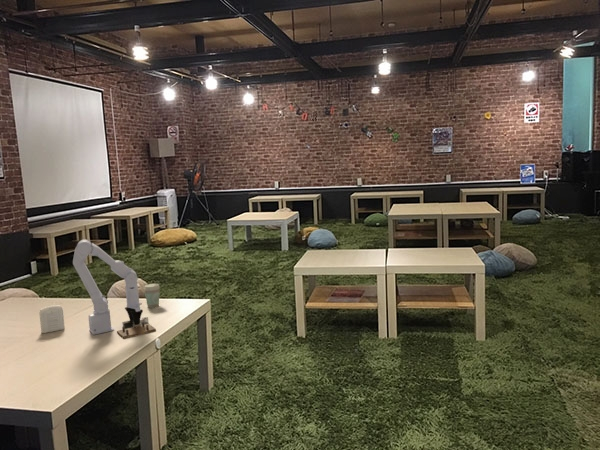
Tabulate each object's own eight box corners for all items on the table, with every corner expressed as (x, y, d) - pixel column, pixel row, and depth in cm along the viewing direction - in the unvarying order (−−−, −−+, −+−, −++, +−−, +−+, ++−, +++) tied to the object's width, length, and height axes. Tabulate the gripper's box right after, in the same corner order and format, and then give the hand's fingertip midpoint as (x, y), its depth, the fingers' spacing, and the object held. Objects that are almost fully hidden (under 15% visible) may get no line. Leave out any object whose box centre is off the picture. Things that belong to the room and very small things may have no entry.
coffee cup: (151, 309, 272) (149, 288, 270) (142, 307, 277) (140, 286, 275) (164, 305, 278) (162, 284, 277) (155, 303, 284) (153, 282, 282)
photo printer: (64, 327, 249) (61, 302, 248) (65, 329, 246) (62, 304, 244) (40, 331, 244) (37, 307, 242) (42, 334, 240) (39, 309, 238)
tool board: (123, 338, 229) (122, 332, 228) (117, 332, 237) (116, 326, 237) (155, 330, 237) (155, 324, 237) (148, 325, 246) (148, 319, 245)
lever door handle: (124, 329, 242) (124, 323, 242) (122, 327, 245) (122, 321, 245) (149, 323, 249) (149, 318, 249) (147, 321, 252) (146, 316, 251)
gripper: (145, 296, 241) (148, 324, 243) (135, 291, 253) (138, 317, 255) (130, 299, 237) (133, 327, 239) (121, 293, 249) (124, 320, 251)
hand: (134, 322), depth 247 cm, fingers open, 6 cm apart
